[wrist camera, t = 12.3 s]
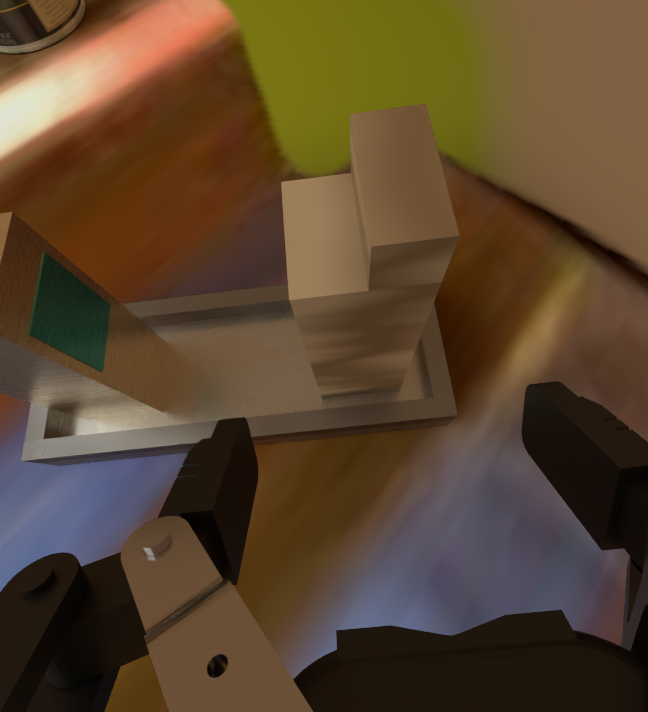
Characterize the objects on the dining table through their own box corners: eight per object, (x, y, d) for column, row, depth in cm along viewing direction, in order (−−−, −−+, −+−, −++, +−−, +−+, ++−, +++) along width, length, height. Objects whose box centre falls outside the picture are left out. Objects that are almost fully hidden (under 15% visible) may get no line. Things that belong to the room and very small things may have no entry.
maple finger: (320, 398, 21) (272, 258, 9) (314, 327, 23) (265, 125, 11) (399, 389, 21) (459, 235, 9) (388, 318, 23) (425, 103, 10)
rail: (58, 465, 23) (-390, 409, 9) (77, 331, 26) (-238, 138, 12) (446, 425, 22) (595, 297, 8) (419, 291, 25) (496, 33, 11)
